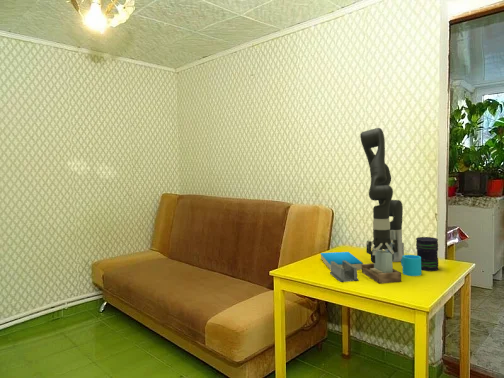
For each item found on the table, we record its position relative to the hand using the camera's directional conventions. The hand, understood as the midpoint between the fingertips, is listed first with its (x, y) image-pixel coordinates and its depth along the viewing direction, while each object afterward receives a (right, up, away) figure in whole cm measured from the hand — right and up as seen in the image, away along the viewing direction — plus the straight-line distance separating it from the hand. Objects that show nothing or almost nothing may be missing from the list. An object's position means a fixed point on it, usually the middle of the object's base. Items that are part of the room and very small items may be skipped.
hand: (382, 262), depth 166 cm
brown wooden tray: (-1, -7, 0) cm, 7 cm away
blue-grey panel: (+1, -7, 0) cm, 7 cm away
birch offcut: (-3, -6, 0) cm, 6 cm away
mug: (+15, -6, +5) cm, 17 cm away
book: (-13, -7, +26) cm, 30 cm away
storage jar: (+26, -6, +10) cm, 29 cm away
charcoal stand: (-18, -8, +2) cm, 19 cm away
